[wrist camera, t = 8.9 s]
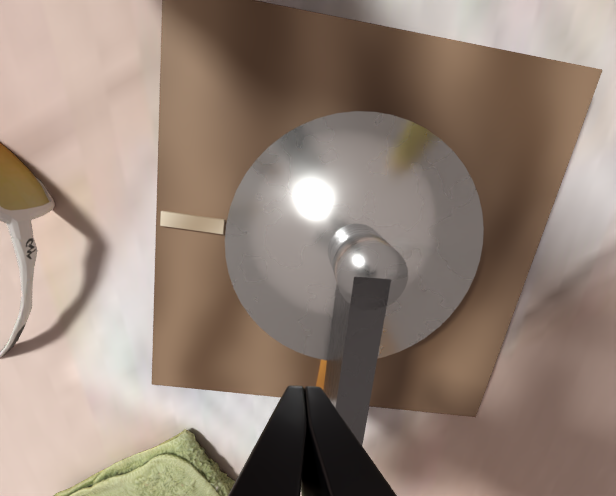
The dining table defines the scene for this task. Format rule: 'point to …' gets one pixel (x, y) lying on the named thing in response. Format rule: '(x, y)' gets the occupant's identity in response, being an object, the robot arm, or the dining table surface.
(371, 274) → the dial
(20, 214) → the sunglasses
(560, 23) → the dining table surface
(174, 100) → the dial base
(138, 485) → the washcloth
